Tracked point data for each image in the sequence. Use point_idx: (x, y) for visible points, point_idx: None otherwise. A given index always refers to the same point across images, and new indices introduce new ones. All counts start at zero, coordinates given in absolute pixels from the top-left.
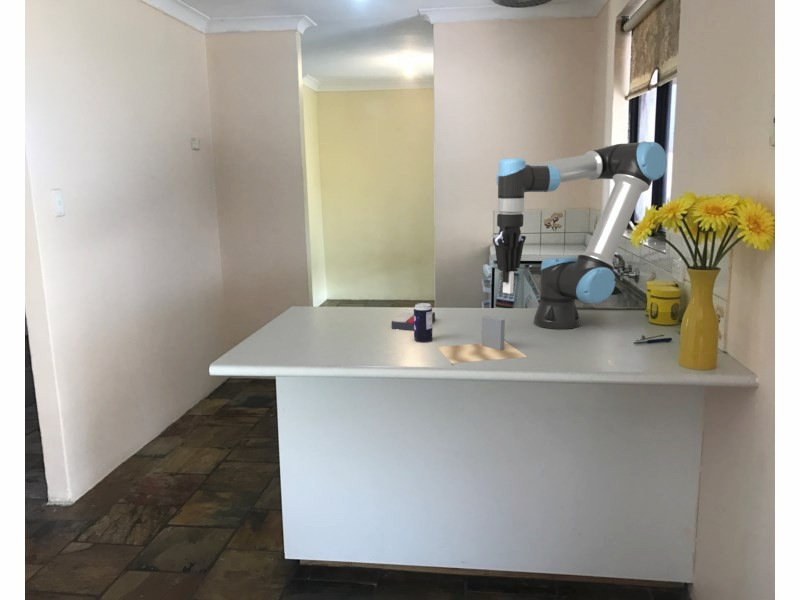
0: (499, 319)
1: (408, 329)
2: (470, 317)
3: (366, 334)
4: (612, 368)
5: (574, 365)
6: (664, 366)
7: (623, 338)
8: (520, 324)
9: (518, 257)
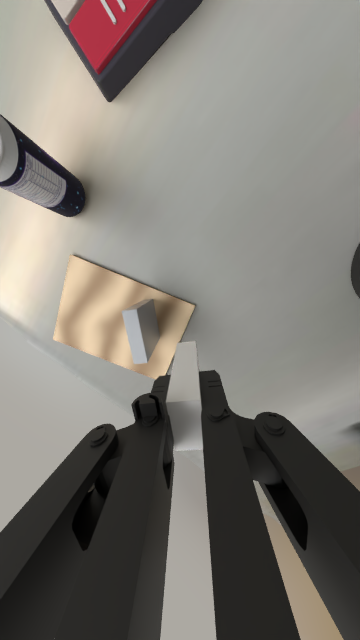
0: (137, 355)
1: (83, 63)
2: (320, 29)
3: None
4: None
5: None
6: None
7: None
8: (344, 208)
9: (330, 613)
